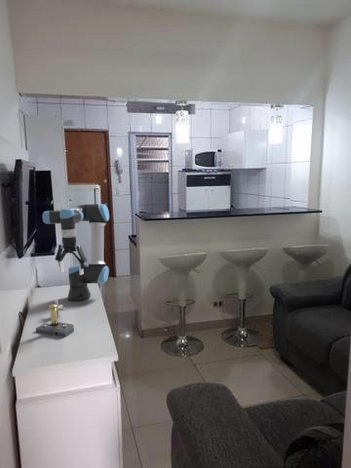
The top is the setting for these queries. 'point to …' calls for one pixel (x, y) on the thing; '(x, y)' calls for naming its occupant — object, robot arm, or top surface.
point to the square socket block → (56, 329)
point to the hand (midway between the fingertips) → (71, 273)
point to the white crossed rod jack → (58, 308)
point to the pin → (53, 314)
